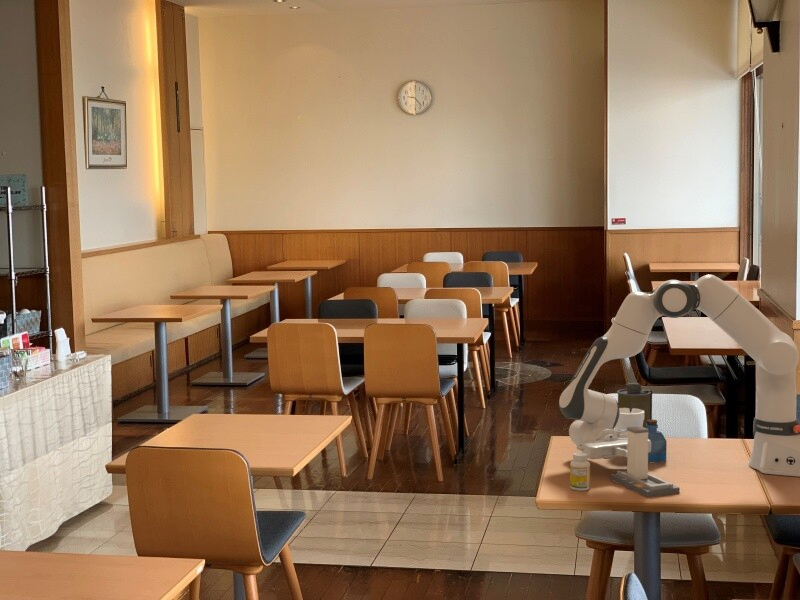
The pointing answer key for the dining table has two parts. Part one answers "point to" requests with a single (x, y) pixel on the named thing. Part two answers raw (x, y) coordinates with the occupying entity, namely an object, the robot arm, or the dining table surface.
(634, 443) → the cream rectangular block
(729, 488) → the dining table surface
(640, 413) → the foam cup
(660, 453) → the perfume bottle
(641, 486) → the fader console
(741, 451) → the dining table surface
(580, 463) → the supplement bottle
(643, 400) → the canister
